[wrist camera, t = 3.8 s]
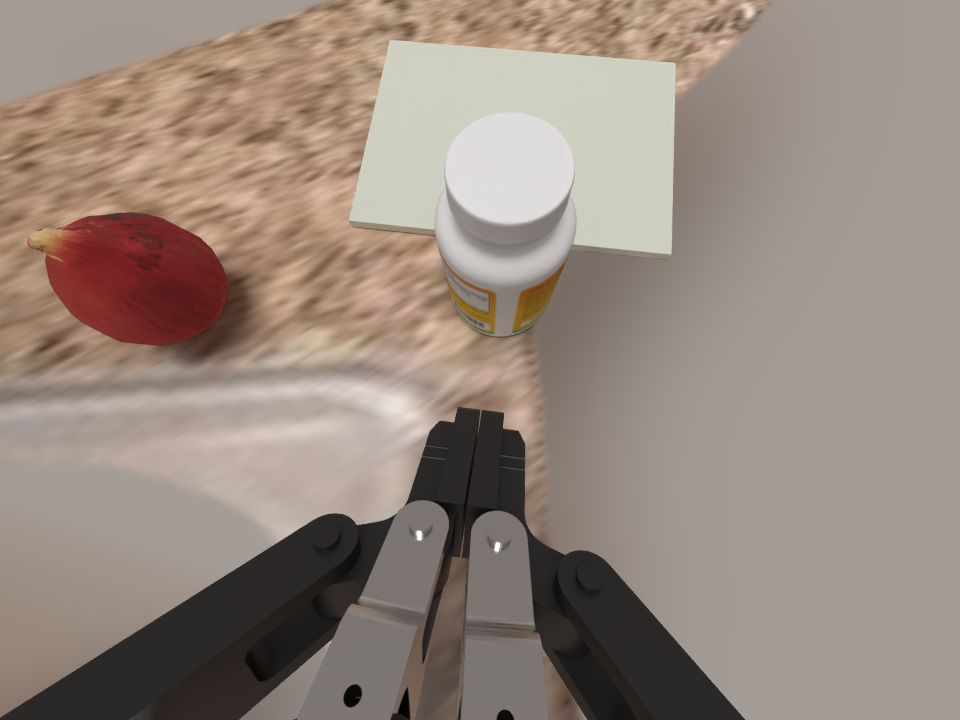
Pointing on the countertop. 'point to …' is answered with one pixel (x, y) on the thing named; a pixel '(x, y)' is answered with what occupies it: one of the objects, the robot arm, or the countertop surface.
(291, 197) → the countertop surface
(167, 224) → the onion
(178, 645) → the robot arm
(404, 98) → the mat
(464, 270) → the supplement bottle
